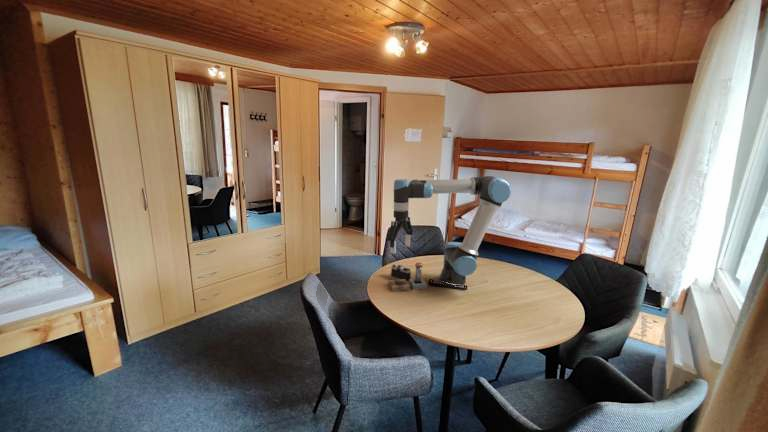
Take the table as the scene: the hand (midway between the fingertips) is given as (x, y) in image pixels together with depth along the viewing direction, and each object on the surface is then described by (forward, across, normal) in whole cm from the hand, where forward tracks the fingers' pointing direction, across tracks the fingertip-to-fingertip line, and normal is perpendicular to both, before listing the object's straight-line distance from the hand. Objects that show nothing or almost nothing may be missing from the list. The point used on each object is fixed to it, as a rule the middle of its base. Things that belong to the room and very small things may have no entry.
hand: (400, 249), depth 172 cm
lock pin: (+24, -12, +4) cm, 27 cm away
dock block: (+24, -4, -3) cm, 24 cm away
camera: (+24, -16, -10) cm, 31 cm away
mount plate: (+24, -12, +4) cm, 27 cm away
